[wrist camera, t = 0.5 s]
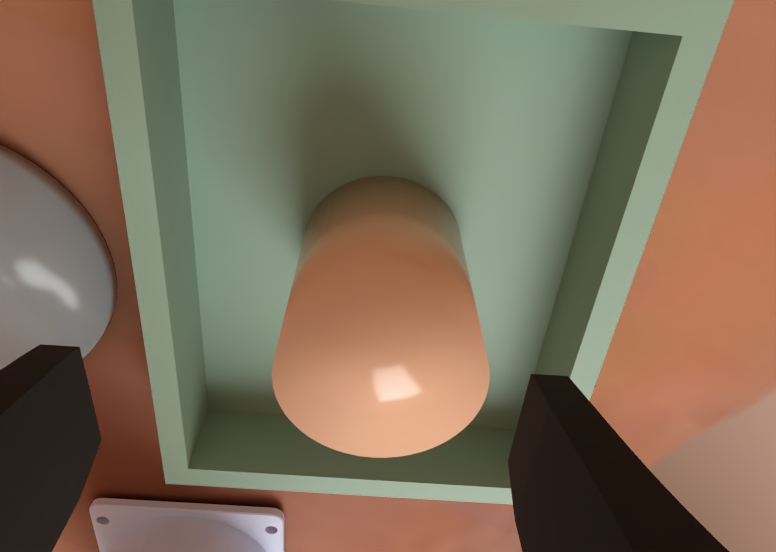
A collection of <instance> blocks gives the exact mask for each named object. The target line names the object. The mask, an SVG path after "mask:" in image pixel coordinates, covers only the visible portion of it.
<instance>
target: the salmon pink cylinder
mask: <svg viewBox="0 0 776 552" xmlns="http://www.w3.org/2000/svg"><path fill="white" fill-rule="evenodd" d="M489 381H490V371H489V364H488V359H487V354H486V349H485V345H484V340H483V336H482V331H481V327H480V322H479V317H478V313H477V308H476V304H475V299H474V295H473V290H472V285H471V281H470V276H469V272H468V267H467V262H466V258H465V253H464V249H463V244H462V240H461V235H460V230H459V227H458V224H457V221H456V219H455V217H454V215H453V214H452V212H451V210H450V209H449V208H448V206H447V205H446V204H445V203H444V202H443V201H442V200H441V198H440V197H439V196H437V195H436V194H435V193H433V192H432V191H431V190H429V189H427V188H426V187H424V186H422V185H420V184H418V183H416V182H413V181H410V180H407V179H403V178H399V177H392V176H373V177H366V178H361V179H357V180H354V181H352V182H349V183H346V184H344V185H342V186H340V187H339V188H337V189H335V190H334V191H333V192H331V193H330V194H328V195H327V196H326V197H325V198H324V199H323V200H322V201H321V202H320V203H319V205H318V206H317V207H316V208H315V210H314V212H313V213H312V215H311V216H310V219H309V221H308V224H307V226H306V230H305V234H304V238H303V242H302V247H301V251H300V255H299V259H298V263H297V267H296V271H295V275H294V279H293V283H292V287H291V291H290V295H289V299H288V304H287V308H286V312H285V316H284V320H283V324H282V328H281V332H280V336H279V340H278V344H277V348H276V352H275V357H274V361H273V365H272V383H273V389H274V392H275V396H276V398H277V401H278V403H279V405H280V407H281V409H282V410H283V412H284V413H285V415H286V416H287V417H288V419H289V420H290V421H291V422H292V423H293V424H294V425H295V426H296V427H297V428H298V429H299V430H300V431H302V432H303V433H304V434H306V435H307V436H308V437H310V438H311V439H313V440H315V441H317V442H318V443H320V444H322V445H324V446H327V447H329V448H331V449H334V450H337V451H340V452H343V453H347V454H351V455H356V456H363V457H372V458H389V457H400V456H406V455H412V454H415V453H419V452H423V451H426V450H428V449H431V448H434V447H436V446H438V445H440V444H442V443H444V442H446V441H448V440H449V439H451V438H452V437H454V436H456V435H457V434H458V433H459V432H461V431H462V430H463V429H464V428H465V427H466V426H467V425H468V424H469V423H470V422H471V421H472V420H473V419H474V417H475V416H476V415H477V413H478V412H479V411H480V409H481V407H482V405H483V403H484V401H485V398H486V395H487V392H488V387H489Z"/></svg>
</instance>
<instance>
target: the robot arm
mask: <svg viewBox="0 0 776 552" xmlns="http://www.w3.org/2000/svg"><path fill="white" fill-rule="evenodd" d="M100 442H101V436H100V432H99V427H98V423H97V419H96V415H95V410H94V406H93V402H92V397H91V393H90V389H89V385H88V380H87V376H86V372H85V368H84V363H83V359H82V355H81V351H80V347H76V346H59V345H43V344H40V345H38V346H37V347H35V348H33V349H32V350H30V351H29V352H27V353H25V354H24V355H22V356H21V357H19V358H18V359H16V360H15V361H13V362H12V363H10V364H9V365H7V366H6V367H4V368H3V369H1V370H0V552H52V550H53V548H54V546H55V545H56V543H57V541H58V539H59V537H60V535H61V533H62V531H63V529H64V527H65V525H66V524H67V522H68V520H69V518H70V516H71V514H72V512H73V510H74V508H75V506H76V504H77V502H78V500H79V498H80V495H81V493H82V490H83V488H84V485H85V483H86V480H87V477H88V475H89V472H90V470H91V467H92V464H93V461H94V458H95V456H96V453H97V450H98V447H99V445H100ZM508 468H509V476H510V485H511V494H512V501H513V508H514V515H515V522H516V526H517V530H518V534H519V539H520V543H521V547H522V551H523V552H729V551H728V550H727V549H726V548H725V547H724V546H723V545H722V544H721V543H720V542H718V541H717V540H716V539H715V538H714V537H713V536H712V535H711V534H710V533H709V532H708V531H707V530H706V529H705V528H704V527H703V526H702V525H701V524H700V523H699V522H698V521H697V520H696V519H695V518H694V517H693V516H692V515H691V514H690V513H689V512H688V511H687V510H686V509H685V508H684V507H683V506H682V505H681V503H680V502H679V501H678V500H677V499H676V498H675V497H674V496H673V495H672V494H671V493H670V492H669V491H668V490H667V489H666V488H665V487H664V486H663V485H662V483H660V481H659V480H658V479H657V478H656V477H655V476H654V475H653V474H652V473H651V471H650V470H649V469H648V468H647V467H646V466H645V465H644V464H643V463H642V461H641V460H640V459H639V458H638V457H637V456H636V455H635V454H634V453H633V451H632V450H631V449H630V448H629V447H628V446H627V445H626V443H625V442H624V441H623V440H622V439H621V438H620V437H619V435H618V434H617V433H616V432H615V431H614V430H613V428H612V427H611V426H610V425H609V424H608V423H607V421H606V420H605V419H604V418H603V417H602V416H601V414H600V413H599V412H598V411H597V410H596V408H595V407H594V406H593V405H592V404H591V402H590V401H589V400H588V399H587V398H586V397H585V395H584V394H583V393H582V392H581V391H580V389H579V388H578V387H577V386H576V385H575V384H574V382H573V381H572V380H571V379H570V378H569V377H568V376H560V375H543V374H531V375H530V379H529V383H528V386H527V390H526V394H525V398H524V402H523V405H522V409H521V413H520V417H519V420H518V424H517V428H516V432H515V435H514V439H513V443H512V447H511V451H510V454H509V458H508ZM89 513H90V517H91V520H92V524H93V528H94V532H95V536H96V540H97V543H98V547H99V551H100V552H284V513H283V512H282V511H281V510H279V509H277V508H271V507H254V506H237V505H219V504H202V503H185V502H167V501H150V500H133V499H116V498H97V499H95V500H94V501H93V502H92V504H91V506H90V508H89Z"/></svg>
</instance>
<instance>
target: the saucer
mask: <svg viewBox="0 0 776 552" xmlns="http://www.w3.org/2000/svg"><path fill="white" fill-rule="evenodd" d="M116 296H117V282H116V273H115V269H114V264H113V260H112V257H111V254H110V252H109V249H108V247H107V244H106V242H105V240H104V238H103V236H102V234H101V233H100V231H99V229H98V227H97V225H96V224H95V223H94V221H93V220H92V218H91V217H90V216H89V214H88V213H87V211H86V210H85V209H84V207H83V206H82V205H81V204H80V203H79V202H78V201H77V200H76V198H75V197H74V196H73V195H72V194H71V193H70V192H69V191H68V190H67V189H66V188H65V187H64V186H62V185H61V184H60V183H59V182H58V181H57V180H56V179H55V178H54V177H52V176H51V175H50V174H48V173H47V172H46V171H44V170H43V169H42V168H40V167H39V166H38V165H36V164H35V163H33V162H31V161H30V160H28V159H26V158H25V157H23V156H22V155H20V154H18V153H17V152H15V151H13V150H11V149H8V148H6V147H4V146H2V145H0V370H1V369H3V368H4V367H6V366H7V365H9V364H10V363H12V362H13V361H15V360H16V359H18V358H19V357H21V356H22V355H24V354H25V353H27V352H29V351H30V350H32V349H33V348H35V347H37V346H38V345H40V344H43V345H59V346H76V347H80V351H81V355H82V359H83V358H84V357H85V356H86V355H87V354H88V353H89V352H90V351H91V350H92V349H93V348H94V346H95V345H96V344H97V342H98V341H99V339H100V338H101V336H102V335H103V333H104V332H105V330H106V329H107V327H108V325H109V323H110V320H111V318H112V316H113V312H114V308H115V305H116Z"/></svg>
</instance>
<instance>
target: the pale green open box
mask: <svg viewBox="0 0 776 552" xmlns="http://www.w3.org/2000/svg"><path fill="white" fill-rule="evenodd" d="M733 2H734V0H92V3H93V9H94V16H95V22H96V29H97V36H98V42H99V49H100V55H101V62H102V69H103V75H104V82H105V88H106V95H107V102H108V108H109V115H110V121H111V128H112V135H113V141H114V148H115V154H116V161H117V168H118V174H119V181H120V187H121V194H122V200H123V207H124V214H125V220H126V227H127V233H128V240H129V247H130V253H131V260H132V266H133V273H134V280H135V286H136V293H137V299H138V306H139V313H140V319H141V326H142V332H143V339H144V346H145V352H146V359H147V365H148V372H149V379H150V385H151V392H152V398H153V405H154V411H155V418H156V425H157V431H158V438H159V444H160V451H161V458H162V464H163V471H164V477H165V484H177V485H194V486H211V487H228V488H245V489H262V490H279V491H295V492H312V493H329V494H346V495H363V496H380V497H397V498H414V499H431V500H447V501H464V502H481V503H498V504H513V501H512V494H511V485H510V476H509V468H508V458H509V454H510V451H511V447H512V443H513V439H514V435H515V432H516V428H517V424H518V420H519V417H520V413H521V409H522V405H523V402H524V398H525V394H526V390H527V386H528V383H529V379H530V375H531V374H543V375H560V376H568V377H569V378H570V379H571V380H572V381H573V382H574V384H575V385H576V386H577V387H578V388H579V389H580V391H581V392H582V393H583V394H584V395H585V397H586V398H587V399H588V400H590V397H591V395H592V392H593V389H594V386H595V384H596V381H597V378H598V375H599V373H600V370H601V367H602V364H603V362H604V359H605V356H606V353H607V350H608V348H609V345H610V342H611V339H612V337H613V334H614V331H615V328H616V326H617V323H618V320H619V317H620V314H621V312H622V309H623V306H624V303H625V301H626V298H627V295H628V292H629V290H630V287H631V284H632V281H633V279H634V276H635V273H636V270H637V267H638V265H639V262H640V259H641V256H642V254H643V251H644V248H645V245H646V243H647V240H648V237H649V234H650V231H651V229H652V226H653V223H654V220H655V218H656V215H657V212H658V209H659V207H660V204H661V201H662V198H663V196H664V193H665V190H666V187H667V184H668V182H669V179H670V176H671V173H672V171H673V168H674V165H675V162H676V160H677V157H678V154H679V151H680V148H681V146H682V143H683V140H684V137H685V135H686V132H687V129H688V126H689V124H690V121H691V118H692V115H693V113H694V110H695V107H696V104H697V101H698V99H699V96H700V93H701V90H702V88H703V85H704V82H705V79H706V77H707V74H708V71H709V68H710V65H711V63H712V60H713V57H714V54H715V52H716V49H717V46H718V43H719V41H720V38H721V35H722V32H723V29H724V27H725V24H726V21H727V18H728V16H729V13H730V10H731V7H732V5H733ZM373 176H392V177H399V178H403V179H407V180H410V181H413V182H416V183H418V184H420V185H422V186H424V187H426V188H427V189H429V190H431V191H432V192H433V193H435V194H436V195H437V196H439V197H440V198H441V200H442V201H443V202H444V203H445V204H446V205H447V206H448V208H449V209H450V210H451V212H452V214H453V215H454V217H455V219H456V221H457V224H458V227H459V230H460V235H461V240H462V244H463V249H464V253H465V258H466V262H467V267H468V272H469V276H470V281H471V285H472V290H473V295H474V299H475V304H476V308H477V313H478V317H479V322H480V327H481V331H482V336H483V340H484V345H485V349H486V354H487V359H488V364H489V371H490V381H489V387H488V392H487V395H486V398H485V401H484V403H483V405H482V407H481V409H480V411H479V412H478V413H477V415H476V416H475V417H474V419H473V420H472V421H471V422H470V423H469V424H468V425H467V426H466V427H465V428H464V429H463V430H462V431H461V432H459V433H458V434H457V435H456V436H454V437H452V438H451V439H449V440H448V441H446V442H444V443H442V444H440V445H438V446H436V447H434V448H431V449H428V450H426V451H423V452H419V453H415V454H412V455H406V456H400V457H389V458H372V457H363V456H356V455H351V454H347V453H343V452H340V451H337V450H334V449H331V448H329V447H327V446H324V445H322V444H320V443H318V442H317V441H315V440H313V439H311V438H310V437H308V436H307V435H306V434H304V433H303V432H302V431H300V430H299V429H298V428H297V427H296V426H295V425H294V424H293V423H292V422H291V421H290V420H289V419H288V417H287V416H286V415H285V413H284V412H283V410H282V409H281V407H280V405H279V403H278V401H277V398H276V396H275V392H274V389H273V383H272V365H273V361H274V357H275V352H276V348H277V344H278V340H279V336H280V332H281V328H282V324H283V320H284V316H285V312H286V308H287V304H288V299H289V295H290V291H291V287H292V283H293V279H294V275H295V271H296V267H297V263H298V259H299V255H300V251H301V247H302V242H303V238H304V234H305V230H306V226H307V224H308V221H309V219H310V216H311V215H312V213H313V212H314V210H315V208H316V207H317V206H318V205H319V203H320V202H321V201H322V200H323V199H324V198H325V197H326V196H327V195H328V194H330V193H331V192H333V191H334V190H335V189H337V188H339V187H340V186H342V185H344V184H346V183H349V182H352V181H354V180H357V179H361V178H366V177H373Z"/></svg>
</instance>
